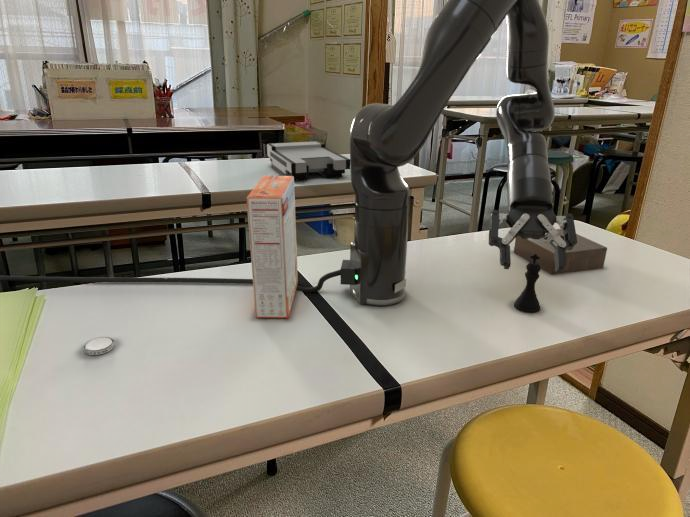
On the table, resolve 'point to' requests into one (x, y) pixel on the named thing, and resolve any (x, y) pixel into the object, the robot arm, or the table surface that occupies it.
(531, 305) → the chess piece
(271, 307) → the cracker box
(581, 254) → the pad block
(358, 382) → the table surface
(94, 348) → the silver round flat disc
